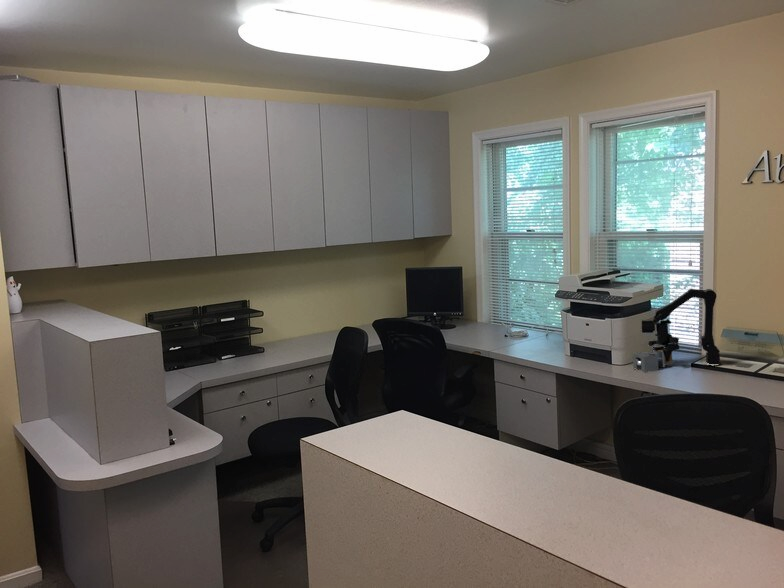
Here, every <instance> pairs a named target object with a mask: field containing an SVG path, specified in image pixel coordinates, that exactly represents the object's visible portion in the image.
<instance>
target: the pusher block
mask: <svg viewBox="0 0 784 588" xmlns="http://www.w3.org/2000/svg"><path fill="white" fill-rule="evenodd" d="M663 350H664V349H663ZM663 350H658V351H659V352H663ZM664 363H665V366H667V365H672V364H674V363H673V352H672V353H671V356H670V359H669V362H667V361H666V359H665V356H664Z"/></svg>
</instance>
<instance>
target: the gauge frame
mask: <svg viewBox="0 0 784 588" xmlns="http://www.w3.org/2000/svg"><path fill="white" fill-rule="evenodd" d="M638 361H641V365H637V362H638ZM632 364H633V365H632V366H633V369H634V368H636V369H640V370H641V372H642V371H644V372H643V373H648V371H651V372H655V371H659V366H658V356H657V355H656V354H653V353H648V352H642V351H641V352H639V353H638V352H637V353H632Z"/></svg>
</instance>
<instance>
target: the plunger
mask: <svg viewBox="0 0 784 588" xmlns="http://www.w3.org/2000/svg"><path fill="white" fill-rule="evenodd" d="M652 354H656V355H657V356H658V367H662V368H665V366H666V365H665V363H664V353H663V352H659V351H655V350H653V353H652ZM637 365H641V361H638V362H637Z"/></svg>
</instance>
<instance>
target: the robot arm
mask: <svg viewBox="0 0 784 588" xmlns="http://www.w3.org/2000/svg"><path fill="white" fill-rule="evenodd" d="M692 298H698V299H702V300H703V303H704V325H703V327H704V328H703V335H700V336H699V337H700V338H699V339H700V342H699V344H700V346H701V347H702V349H703V351H704V352H705V363H706V362H707V363H709V364H719V363H721V355H720V349H719V348H718V346H716V345H715V340H714V336H713V330H714V328H713V327H714V326H713V325H714V323H713V322H714V307H715V304H716V300H717V293H716V292H715V291H714V290H713V289H711V288H707V289H694V288H689V289H688V290H687V291H685V292H684V293H683V294H681V295H680V296H678V297H676V298H675V299H674V300H673V301H671V302H670V303H668V304H666V305H663V306H661V307H659V308H657V309H656V310H655V313H654V314H655V315H654V316H653V317H652V318H651V319H647V320H645V319H644V320H643V319H642V320H641V333H653V332H655V331H657V334H655V336H657V339H656V340H650V341H649V342H648V346H653V347H652V348H653V349H654V350H655V351H658V350H663V353H664V356H665V359H666V361H667V362H669V359H670V356H671V353H672V354H673V352H674V351H675V350H678V351H679V350H680V344H679V341H680V338H679V337H676V336H673V335H672V334H671V333H669V324H672V321H671V320H670V319H669V318H668V317H669V316H670V315H671V314H672V313H673V312H674V311H675V310H676V309H677V308H679V307H680V306H682V305H684V304H685V303H687V302H688V301H689V300H691V299H692ZM664 348H665V349H664Z"/></svg>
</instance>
